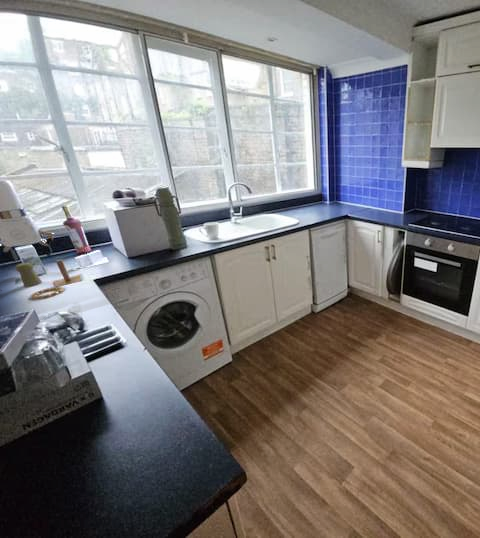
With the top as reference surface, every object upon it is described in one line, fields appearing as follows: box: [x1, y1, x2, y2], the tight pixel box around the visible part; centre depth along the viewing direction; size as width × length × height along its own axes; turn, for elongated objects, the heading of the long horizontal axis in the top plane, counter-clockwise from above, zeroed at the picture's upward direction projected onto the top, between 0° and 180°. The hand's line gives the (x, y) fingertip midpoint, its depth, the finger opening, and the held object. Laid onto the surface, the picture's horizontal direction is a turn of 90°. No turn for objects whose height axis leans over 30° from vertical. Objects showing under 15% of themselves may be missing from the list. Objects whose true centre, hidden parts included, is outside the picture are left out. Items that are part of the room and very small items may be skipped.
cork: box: [14, 262, 43, 288], centre depth 131 cm, size 6×6×11 cm
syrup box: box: [14, 244, 47, 277], centre depth 143 cm, size 6×6×14 cm
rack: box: [53, 259, 83, 287], centre depth 133 cm, size 9×9×11 cm
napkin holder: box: [74, 249, 110, 268], centre depth 156 cm, size 15×11×6 cm
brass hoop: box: [30, 286, 65, 301], centre depth 123 cm, size 10×10×2 cm
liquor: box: [61, 204, 92, 255], centre depth 169 cm, size 7×7×28 cm
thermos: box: [152, 187, 188, 251], centre depth 172 cm, size 9×12×35 cm
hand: (33, 257), depth 115 cm, fingers open, 9 cm apart
